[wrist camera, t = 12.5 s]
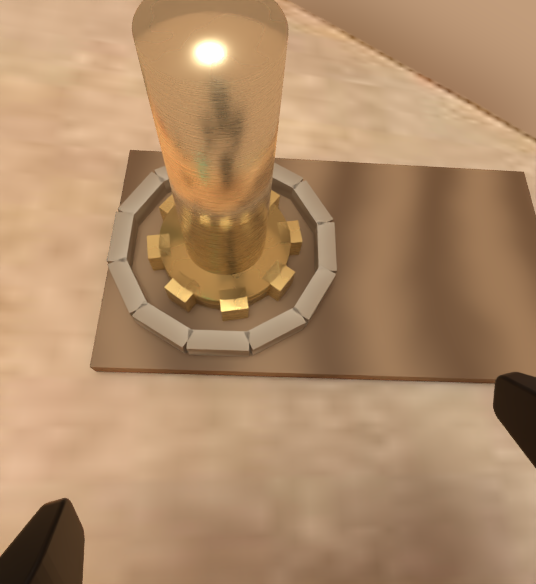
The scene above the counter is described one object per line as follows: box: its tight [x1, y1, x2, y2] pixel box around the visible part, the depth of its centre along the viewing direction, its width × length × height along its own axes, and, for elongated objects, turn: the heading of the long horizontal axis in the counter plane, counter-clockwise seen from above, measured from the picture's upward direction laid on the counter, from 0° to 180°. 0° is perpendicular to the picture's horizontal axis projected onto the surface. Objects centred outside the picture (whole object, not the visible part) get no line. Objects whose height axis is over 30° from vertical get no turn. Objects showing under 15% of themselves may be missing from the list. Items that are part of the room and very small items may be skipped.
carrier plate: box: [90, 150, 536, 383], centre depth 25 cm, size 26×14×2 cm, turn 89°
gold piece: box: [132, 0, 303, 321], centre depth 18 cm, size 8×8×14 cm
